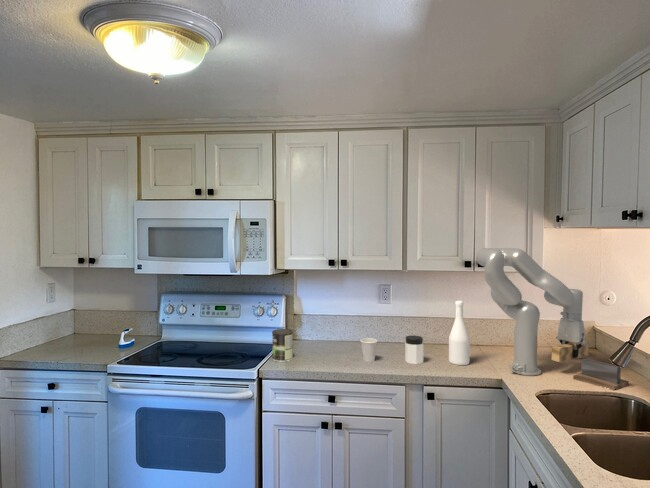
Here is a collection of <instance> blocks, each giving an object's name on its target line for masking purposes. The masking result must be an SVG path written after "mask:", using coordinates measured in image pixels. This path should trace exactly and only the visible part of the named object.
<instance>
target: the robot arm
mask: <svg viewBox="0 0 650 488" xmlns="http://www.w3.org/2000/svg"><path fill="white" fill-rule="evenodd" d="M475 260H476V262H477V265H478V264H479V265H480V266H482V267H483V268H484V279H485V281H486V283H487V285H488V286H489V287H490V288H491V289H490V297H491V299H492V300H493V302H494V303H495V304H497V306H498V307H499V308H500V309H501V310H502V312H504V314H506V315H507V316H508V317H509V318H511V319H512V320H516V323H515V326H514V331H513V341H514V342H513V344H514V345H513V364H510V365H509V366H508V370H510V371H511V372H512V373H515V374H517V375H523V376H529V377H530V376H539V375H541V374H542V370H541V369H540V368H538V331H539V329H538V328H539V322H540V316H541V315H540V314H541V312H540V309H539V307H537V305H536V304H534V303H532V302H529V301H527V300H523V299H522V298H523V297H522V296H523V294H522V292H521V290H520V289H519V288H518V287H517V286H516V285H515V283H513V281H512V280H511V279H509V277H508V275H506V273H505V270H504V267H511V268H513V269H514V270H515V271H516V272H517V273H518V274H519V275H521V277H522V278H523V279H525V280H526V282H527V283H529V284H530V285H532V286H534V287H537V288H539V289H541V290H543V291H544V293H543V297H544V301H546V302H547V303H549V304H551V305H554V306H559V307H563V308H562V309H563V310H562V311H560V313H559V314H560V315H561V316H562V317H560V319H559V323H558V328H557V329H558V330H557V335H556V336H555V339H556V340H557V341H559V343H560V345H563V344H568V341H569V342H573V343H574V349H573V358H577V357H578V353H579V349H580V348H581V347H582V346H585V345H587V343H586V342H587V341H586V338H585V323H584V320H583V319H582V318H583V298H584V293H583V291H582V290H581V289H577V288H569V287H568V286H567V285H566V284H565V283H564V282H563V281H561V280H560V279H558V278H557V277H555V276H553V275H552V274H551V273H550V272H548V271H547V270H545V269H544V268H542V267H541V266H540V265H539V263H537V262H536V261H535V260H534V259H533V258H532V257H531V256H530V255H529V254H528V253H527V252H526V251H525V250H523V249H520V248H514V247H513V248H512V247H505V248H504V247H503V248H496V247H494V248H492V247H491V248H487V247H485V248H480V249H479V250H478V251H477V253H476V255H475ZM580 342H582V343H581V344H580Z"/></svg>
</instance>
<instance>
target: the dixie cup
mask: <svg viewBox="0 0 650 488" xmlns="http://www.w3.org/2000/svg"><path fill="white" fill-rule="evenodd" d="M359 341H360V345H361V354H362V361H363V362H365V363H372V362H374V361H375V360H376V352H377V345H378V344H377V343H378V340H377V339H376V338H371V337H367V338H366V337H365V338H362V339H360V340H359Z"/></svg>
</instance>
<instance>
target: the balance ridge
mask: <svg viewBox="0 0 650 488" xmlns="http://www.w3.org/2000/svg"><path fill="white" fill-rule="evenodd" d="M580 361H581V368H580V369H581V370H580V371H581V372H579V373H576V374H574V375H573V377H572V380H576V381H578V382H583V383H586V384H590V385H593V386H597V387H600V386H602V387H601V388H604V387H606V388H605V389H607V388H609V389H608V390H611V389H612V391H616V390H618V388H619V389H622V388H623V387H626V386H629V383H630V382H629V380H626V379H622V378H621V377H622V376H621V375H622V374H621V373H622V371H621V370H622V369H621V368H622V367H621V366H620V367H621V368H620V367H617V366H618V365H615V364H612V363H608V362H603V361H598V360H594V359H589V358H585V357H583V358H581V360H580ZM615 389H616V390H615Z"/></svg>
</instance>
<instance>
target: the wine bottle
mask: <svg viewBox="0 0 650 488" xmlns="http://www.w3.org/2000/svg"><path fill="white" fill-rule="evenodd" d="M454 303H455V317H454V321H453V324H452V328H451V331H450V333H449V337H448V361H449V363H450V364H451V365H455V366H466V365H469V364H470V361H471V360H470V359H471V358H470V351H471V350H470V349H471V348H470V344H471V343H470V341H471V340H470V336H469V332H468V330H467V327H466V324H465V320H464V309H463V307H464V301H463V300H455V302H454Z"/></svg>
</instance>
